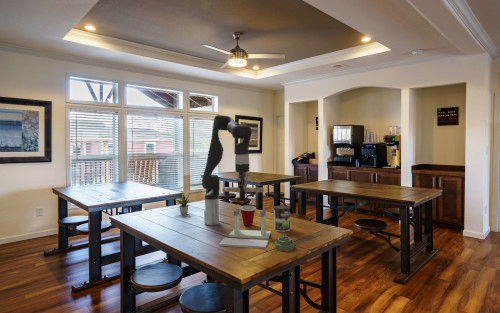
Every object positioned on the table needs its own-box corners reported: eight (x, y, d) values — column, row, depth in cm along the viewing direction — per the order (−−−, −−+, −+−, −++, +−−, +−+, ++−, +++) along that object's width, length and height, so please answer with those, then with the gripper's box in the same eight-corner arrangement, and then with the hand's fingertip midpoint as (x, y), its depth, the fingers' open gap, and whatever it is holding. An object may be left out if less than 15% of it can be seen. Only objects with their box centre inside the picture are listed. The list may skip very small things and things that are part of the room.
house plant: (185, 210, 244) (185, 190, 243) (197, 212, 236) (197, 192, 235) (171, 214, 232) (171, 193, 231) (183, 216, 224) (183, 194, 223)
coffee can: (293, 230, 184) (293, 207, 183) (279, 232, 179) (279, 209, 178) (284, 226, 193) (283, 204, 192) (270, 228, 188) (270, 206, 187)
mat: (218, 245, 158) (218, 243, 158) (224, 239, 168) (224, 238, 168) (265, 248, 153) (265, 246, 153) (268, 242, 163) (268, 240, 163)
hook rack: (228, 237, 173) (228, 211, 172) (233, 231, 182) (233, 207, 182) (268, 239, 168) (267, 212, 167) (270, 233, 177) (270, 208, 177)
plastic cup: (245, 228, 189) (244, 209, 189) (237, 224, 199) (236, 206, 198) (259, 225, 195) (259, 207, 194) (251, 222, 204) (250, 204, 204)
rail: (222, 191, 160) (222, 187, 160) (224, 191, 163) (223, 186, 163) (262, 192, 156) (262, 188, 156) (263, 191, 158) (263, 187, 158)
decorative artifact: (296, 250, 150) (290, 243, 160) (296, 236, 150) (290, 230, 159) (277, 251, 148) (272, 245, 158) (277, 238, 148) (272, 232, 158)
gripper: (238, 162, 166) (239, 192, 167) (231, 163, 152) (232, 197, 153) (251, 162, 164) (252, 193, 165) (246, 163, 151) (246, 197, 152)
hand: (242, 195), depth 159 cm, fingers closed on rail, 2 cm apart
